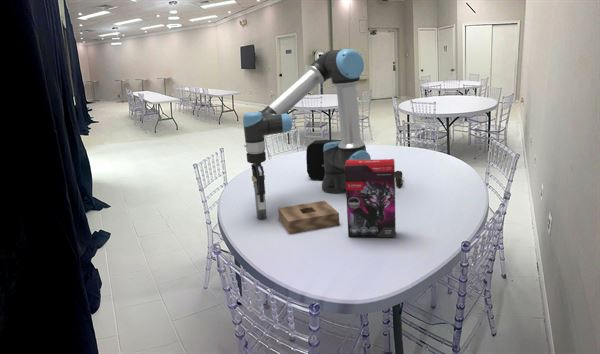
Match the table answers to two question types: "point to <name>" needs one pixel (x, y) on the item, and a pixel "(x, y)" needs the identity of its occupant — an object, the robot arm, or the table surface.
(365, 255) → the table surface
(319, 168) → the black hard case
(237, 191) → the table surface
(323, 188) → the robot arm
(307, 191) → the table surface
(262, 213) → the pin
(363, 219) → the graphics card box
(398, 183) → the hand tool
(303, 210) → the hole block
